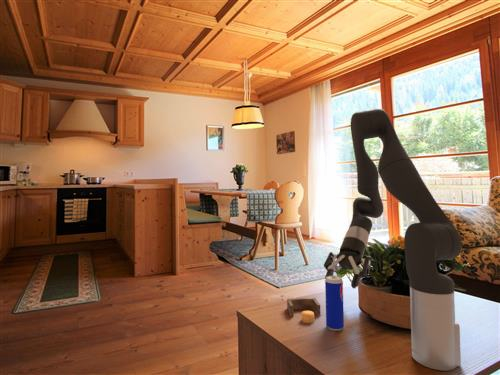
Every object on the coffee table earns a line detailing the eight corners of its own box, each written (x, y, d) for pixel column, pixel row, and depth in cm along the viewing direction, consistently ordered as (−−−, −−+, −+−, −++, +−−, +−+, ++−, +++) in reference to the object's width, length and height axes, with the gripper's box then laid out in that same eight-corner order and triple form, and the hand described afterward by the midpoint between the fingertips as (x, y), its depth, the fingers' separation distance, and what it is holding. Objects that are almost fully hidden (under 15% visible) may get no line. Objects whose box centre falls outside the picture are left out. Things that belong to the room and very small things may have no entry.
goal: (315, 307, 107) (315, 297, 107) (320, 315, 100) (320, 305, 100) (287, 308, 106) (287, 298, 106) (290, 316, 99) (290, 305, 99)
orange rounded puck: (312, 318, 98) (312, 310, 98) (315, 323, 94) (315, 315, 94) (300, 318, 98) (300, 310, 98) (303, 323, 94) (303, 315, 94)
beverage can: (344, 332, 88) (343, 280, 88) (326, 330, 89) (325, 279, 89) (342, 324, 93) (341, 275, 93) (325, 323, 94) (324, 275, 94)
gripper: (331, 234, 105) (315, 273, 97) (372, 237, 96) (358, 282, 87) (339, 247, 109) (324, 286, 100) (379, 251, 99) (366, 295, 91)
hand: (339, 284), depth 94 cm, fingers open, 8 cm apart
